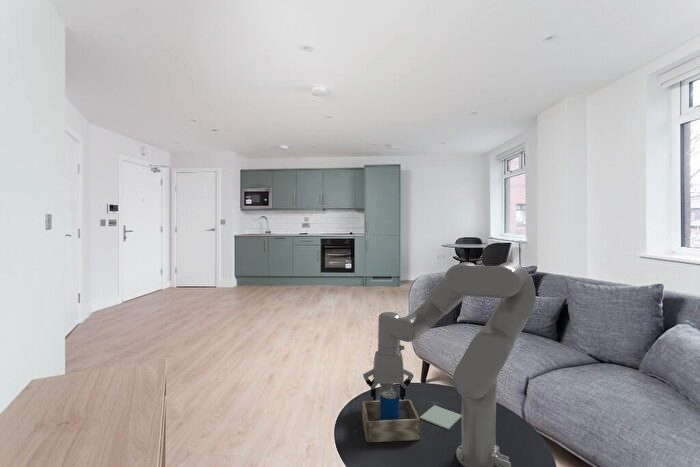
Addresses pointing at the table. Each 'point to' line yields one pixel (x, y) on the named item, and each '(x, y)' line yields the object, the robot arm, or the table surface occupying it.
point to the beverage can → (389, 405)
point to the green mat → (441, 417)
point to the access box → (390, 423)
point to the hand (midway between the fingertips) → (387, 398)
